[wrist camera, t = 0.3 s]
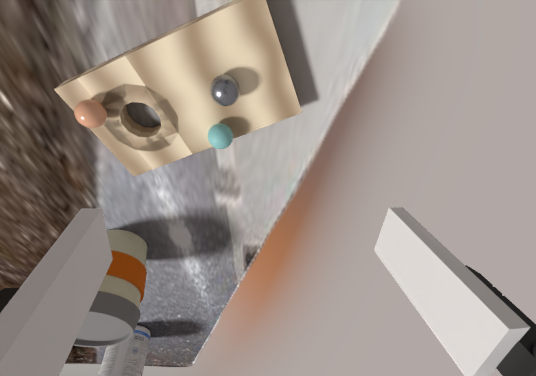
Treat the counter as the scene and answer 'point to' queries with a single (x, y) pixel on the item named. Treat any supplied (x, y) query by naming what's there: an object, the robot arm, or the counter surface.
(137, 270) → the reusable coffee cup
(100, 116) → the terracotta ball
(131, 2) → the counter surface
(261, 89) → the maple board
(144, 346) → the supplement tub
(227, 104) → the steel ball
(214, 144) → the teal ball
